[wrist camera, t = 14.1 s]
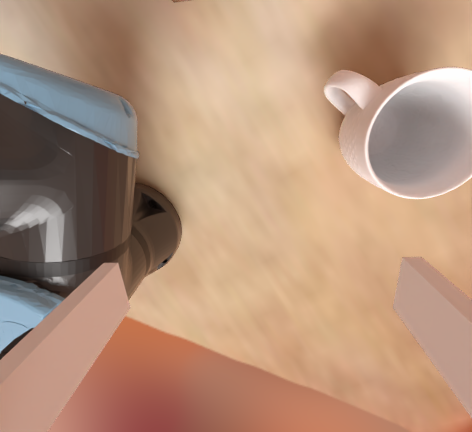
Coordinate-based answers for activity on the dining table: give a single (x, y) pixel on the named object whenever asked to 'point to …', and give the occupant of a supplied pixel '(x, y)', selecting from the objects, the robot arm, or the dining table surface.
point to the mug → (407, 129)
